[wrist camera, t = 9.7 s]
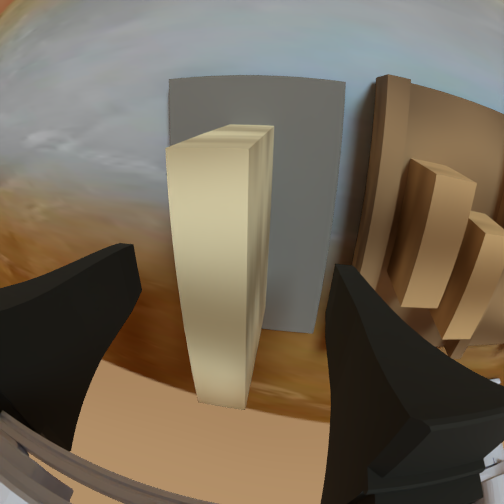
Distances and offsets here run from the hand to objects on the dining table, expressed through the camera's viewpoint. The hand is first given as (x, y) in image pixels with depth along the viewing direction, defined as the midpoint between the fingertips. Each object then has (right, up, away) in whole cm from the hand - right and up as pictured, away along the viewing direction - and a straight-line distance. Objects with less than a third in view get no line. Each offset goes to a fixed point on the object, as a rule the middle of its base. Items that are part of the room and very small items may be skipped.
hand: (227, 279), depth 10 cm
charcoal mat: (+1, +3, +5) cm, 6 cm away
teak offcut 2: (+12, 0, +3) cm, 12 cm away
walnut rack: (+15, +1, +3) cm, 15 cm away
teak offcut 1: (+9, +2, +3) cm, 10 cm away
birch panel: (+1, +2, +5) cm, 5 cm away
